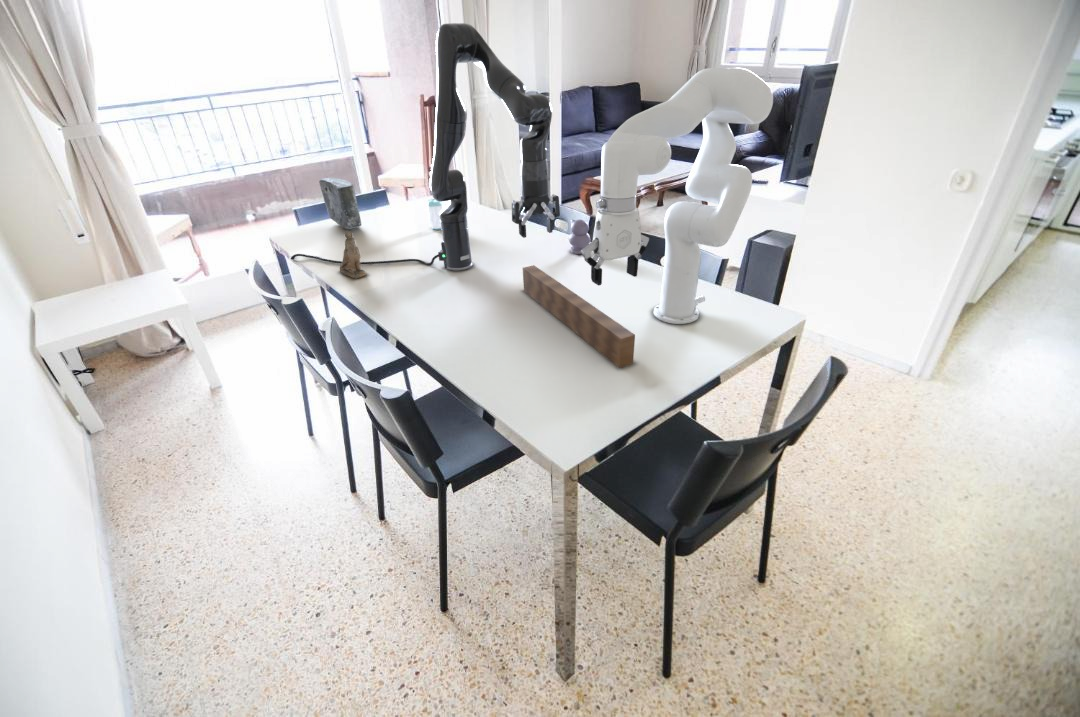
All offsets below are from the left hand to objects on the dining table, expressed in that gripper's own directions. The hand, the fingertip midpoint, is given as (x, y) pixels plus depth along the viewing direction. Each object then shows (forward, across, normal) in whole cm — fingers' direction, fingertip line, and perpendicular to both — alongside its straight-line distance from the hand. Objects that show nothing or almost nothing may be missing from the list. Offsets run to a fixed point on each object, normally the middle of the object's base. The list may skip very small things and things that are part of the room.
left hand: (536, 234), depth 145 cm
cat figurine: (+20, +32, +30) cm, 48 cm away
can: (+20, -5, +90) cm, 93 cm away
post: (+20, 0, -20) cm, 28 cm away
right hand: (0, 0, -40) cm, 40 cm away
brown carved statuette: (+20, -48, +53) cm, 75 cm away
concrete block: (+20, -41, +116) cm, 124 cm away
